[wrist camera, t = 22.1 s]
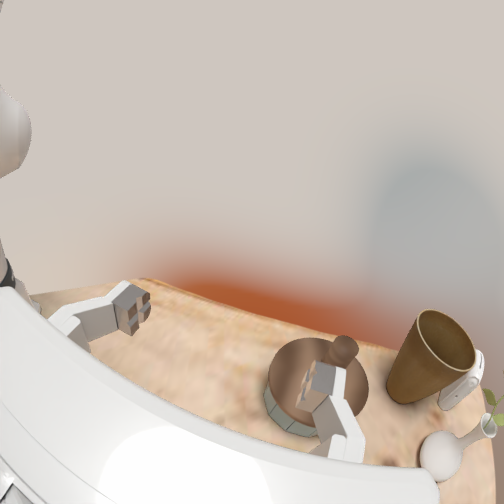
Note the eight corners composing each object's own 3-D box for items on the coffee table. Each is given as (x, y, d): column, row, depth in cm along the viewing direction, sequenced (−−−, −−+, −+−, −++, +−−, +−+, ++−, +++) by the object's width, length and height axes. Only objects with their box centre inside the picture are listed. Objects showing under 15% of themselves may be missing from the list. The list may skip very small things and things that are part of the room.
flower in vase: (458, 475, 25) (560, 403, 12) (418, 491, 24) (540, 420, 11) (446, 424, 36) (532, 343, 23) (408, 432, 35) (507, 344, 22)
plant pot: (427, 424, 36) (483, 378, 28) (367, 410, 39) (421, 358, 31) (425, 370, 48) (467, 321, 40) (373, 352, 51) (413, 298, 43)
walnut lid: (261, 420, 30) (283, 390, 25) (273, 333, 44) (290, 293, 39) (368, 430, 30) (406, 401, 25) (359, 350, 44) (384, 314, 39)
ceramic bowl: (253, 420, 35) (263, 405, 32) (277, 356, 47) (286, 336, 44) (336, 444, 33) (355, 431, 30) (346, 378, 45) (361, 360, 42)
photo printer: (447, 414, 38) (486, 381, 31) (435, 405, 40) (473, 370, 34) (455, 384, 45) (488, 351, 38) (444, 376, 47) (476, 341, 41)
